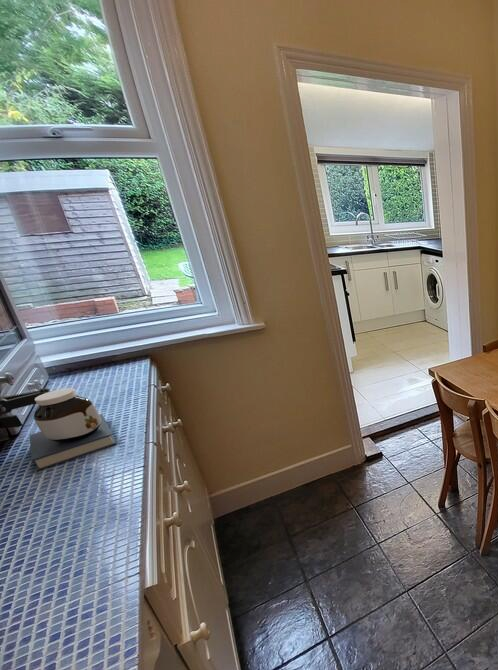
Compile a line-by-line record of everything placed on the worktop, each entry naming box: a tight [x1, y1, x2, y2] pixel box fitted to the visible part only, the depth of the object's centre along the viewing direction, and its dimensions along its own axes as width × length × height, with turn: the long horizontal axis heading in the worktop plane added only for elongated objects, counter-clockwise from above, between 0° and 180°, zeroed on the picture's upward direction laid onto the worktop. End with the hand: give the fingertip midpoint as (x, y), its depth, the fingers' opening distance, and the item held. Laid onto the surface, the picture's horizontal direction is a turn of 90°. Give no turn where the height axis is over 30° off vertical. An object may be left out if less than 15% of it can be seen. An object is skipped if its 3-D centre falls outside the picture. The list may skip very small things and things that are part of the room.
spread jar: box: [33, 387, 101, 443], centre depth 102 cm, size 12×11×12 cm
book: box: [29, 413, 117, 471], centre depth 105 cm, size 18×14×3 cm
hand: (45, 407), depth 100 cm, fingers open, 13 cm apart
